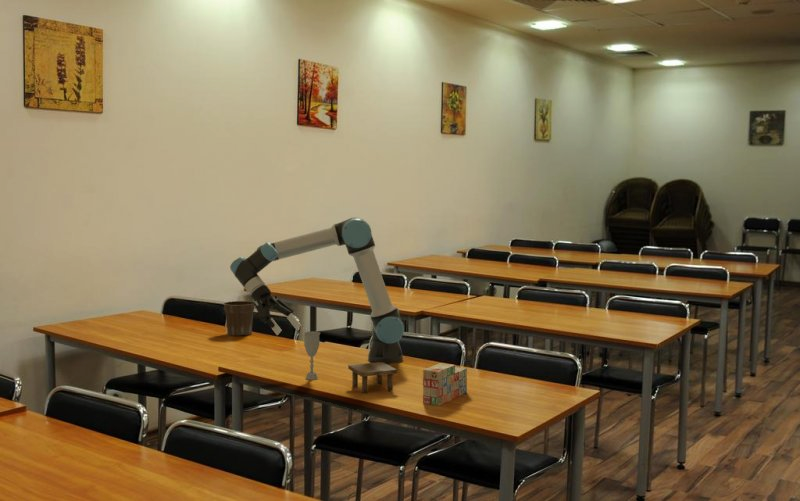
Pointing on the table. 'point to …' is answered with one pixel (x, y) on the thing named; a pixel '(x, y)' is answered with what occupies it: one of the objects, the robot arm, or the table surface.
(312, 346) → the chalice
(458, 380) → the stack of blocks
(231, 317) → the plant pot
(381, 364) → the stool
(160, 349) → the table surface
